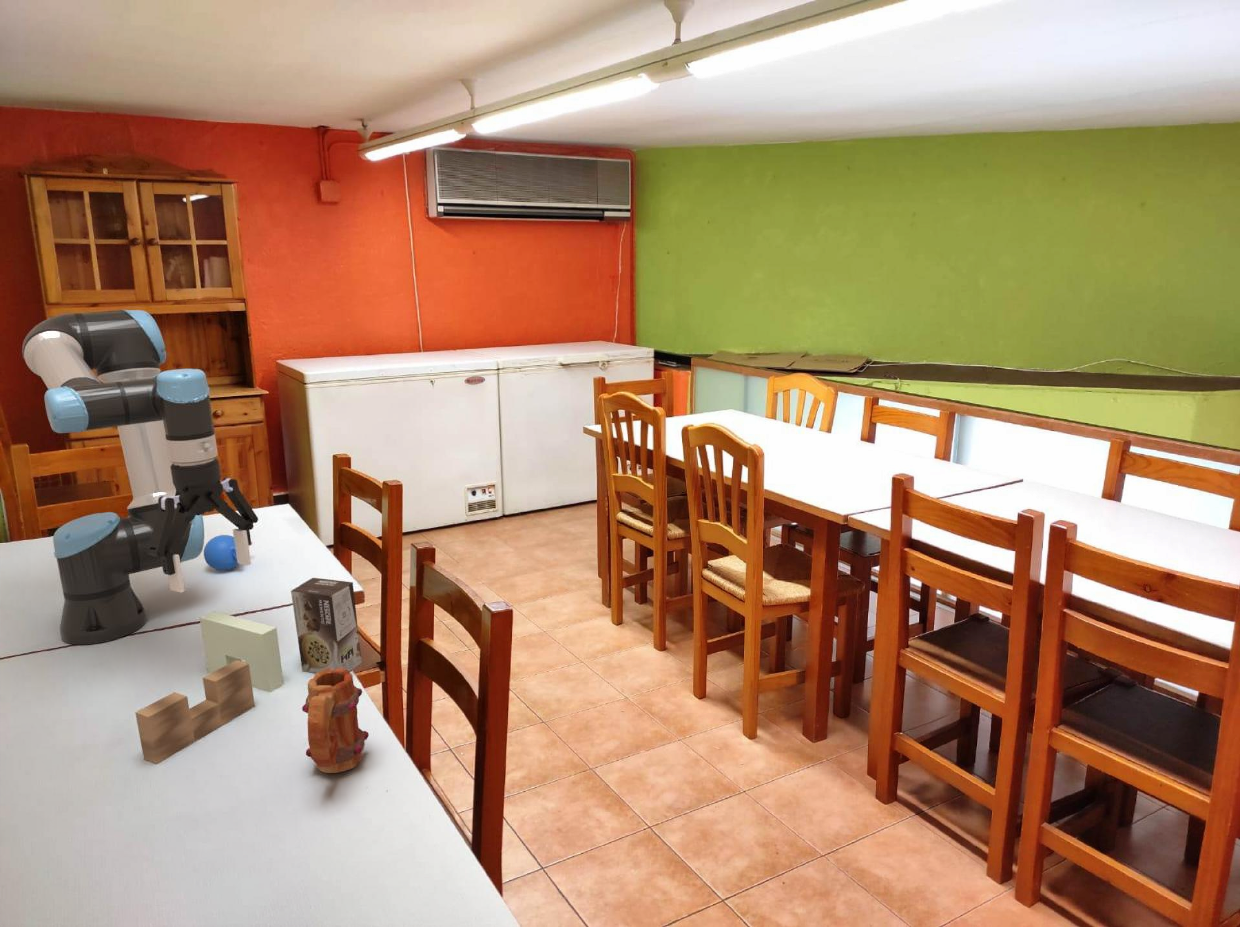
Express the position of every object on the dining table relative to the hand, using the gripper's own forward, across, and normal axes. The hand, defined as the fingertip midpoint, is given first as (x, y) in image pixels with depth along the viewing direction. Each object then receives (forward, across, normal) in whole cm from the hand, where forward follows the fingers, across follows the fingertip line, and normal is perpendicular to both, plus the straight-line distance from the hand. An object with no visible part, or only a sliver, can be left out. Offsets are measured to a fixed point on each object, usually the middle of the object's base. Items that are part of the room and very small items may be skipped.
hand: (212, 576), depth 149 cm
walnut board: (+19, -15, -13) cm, 27 cm away
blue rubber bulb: (+19, +37, +44) cm, 61 cm away
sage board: (+19, 0, -5) cm, 19 cm away
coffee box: (+19, +10, -16) cm, 27 cm away
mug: (+19, -14, -41) cm, 47 cm away
